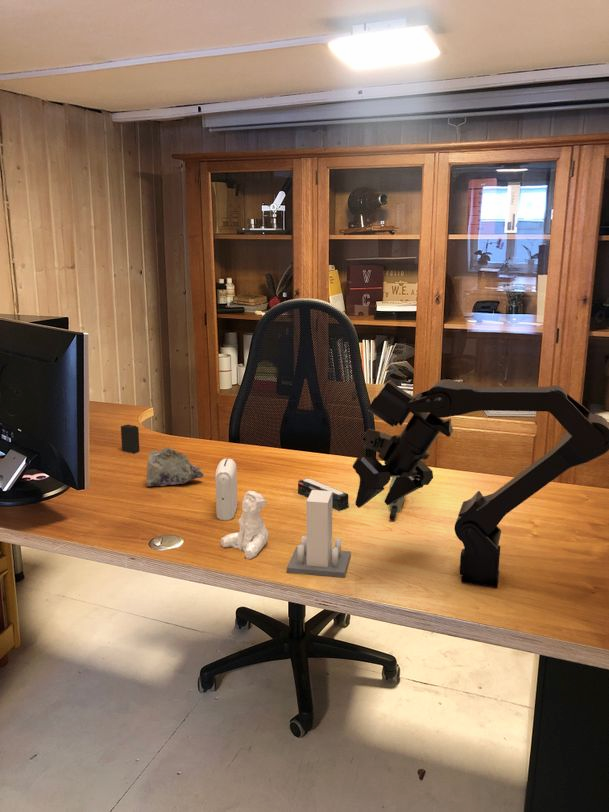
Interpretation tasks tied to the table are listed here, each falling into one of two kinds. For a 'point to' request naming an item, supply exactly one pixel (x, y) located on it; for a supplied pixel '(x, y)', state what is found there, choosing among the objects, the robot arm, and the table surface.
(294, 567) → the grey peg board
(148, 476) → the mineral rock
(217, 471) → the photo printer
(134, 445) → the ink cartridge
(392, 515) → the handheld radio
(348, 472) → the table surface
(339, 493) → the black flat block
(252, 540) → the white creature statuette
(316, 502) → the block
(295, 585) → the table surface
